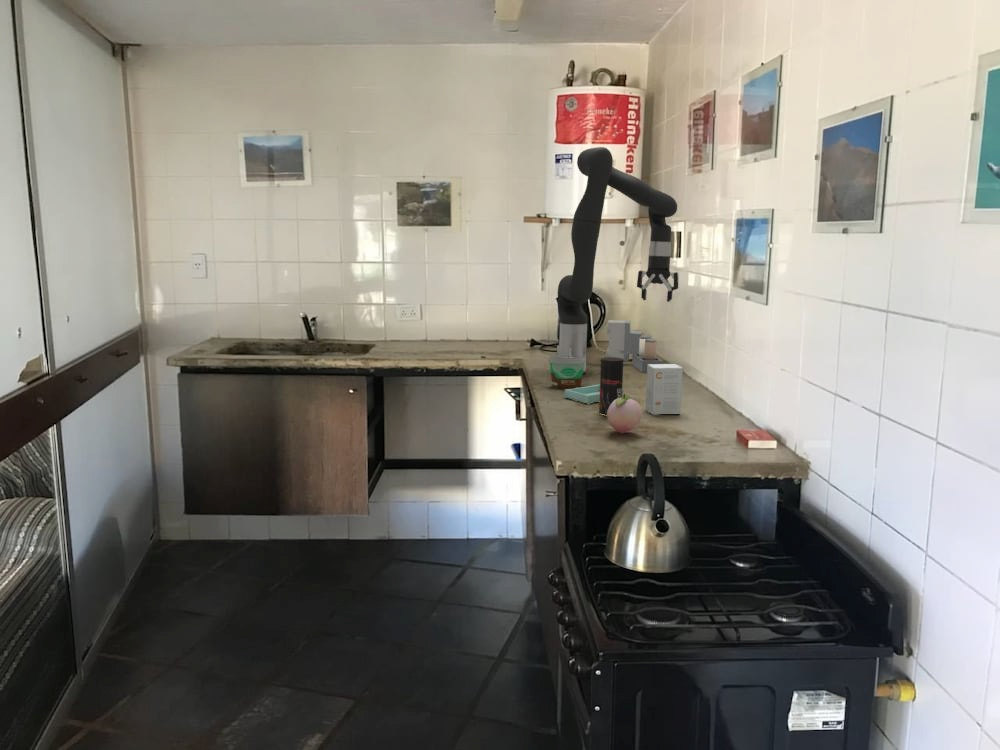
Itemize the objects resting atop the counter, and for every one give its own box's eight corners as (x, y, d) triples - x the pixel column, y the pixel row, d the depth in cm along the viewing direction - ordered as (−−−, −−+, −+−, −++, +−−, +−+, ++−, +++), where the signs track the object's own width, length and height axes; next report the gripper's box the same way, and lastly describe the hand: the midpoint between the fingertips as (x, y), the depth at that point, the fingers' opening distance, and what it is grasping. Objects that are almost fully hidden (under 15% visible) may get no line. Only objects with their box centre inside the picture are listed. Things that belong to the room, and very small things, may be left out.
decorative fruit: (638, 440, 189) (640, 399, 187) (604, 437, 191) (605, 396, 190) (642, 430, 198) (644, 391, 196) (609, 428, 200) (611, 389, 198)
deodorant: (616, 417, 211) (618, 361, 208) (595, 414, 214) (597, 359, 211) (624, 413, 216) (626, 358, 214) (603, 410, 219) (605, 356, 216)
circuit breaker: (644, 364, 293) (646, 323, 290) (605, 362, 296) (607, 322, 293) (645, 361, 300) (647, 321, 297) (607, 359, 303) (608, 320, 300)
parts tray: (587, 404, 226) (588, 395, 226) (564, 398, 234) (564, 389, 234) (622, 398, 235) (623, 390, 234) (599, 392, 243) (599, 384, 242)
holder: (662, 375, 271) (663, 341, 269) (641, 375, 271) (643, 341, 269) (651, 367, 287) (652, 334, 285) (631, 367, 287) (633, 334, 284)
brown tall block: (649, 372, 272) (651, 340, 270) (641, 370, 275) (642, 339, 273) (657, 370, 274) (659, 339, 272) (649, 369, 278) (650, 338, 276)
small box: (673, 409, 221) (675, 363, 218) (680, 415, 215) (683, 367, 212) (644, 410, 220) (646, 363, 218) (651, 415, 214) (653, 367, 211)
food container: (553, 390, 245) (554, 358, 243) (547, 386, 251) (548, 355, 249) (591, 388, 248) (592, 356, 247) (584, 384, 254) (585, 353, 252)
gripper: (637, 254, 280) (634, 300, 283) (678, 255, 275) (674, 302, 278) (641, 253, 287) (638, 299, 290) (681, 255, 282) (678, 301, 285)
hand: (656, 300), depth 284 cm, fingers open, 8 cm apart
